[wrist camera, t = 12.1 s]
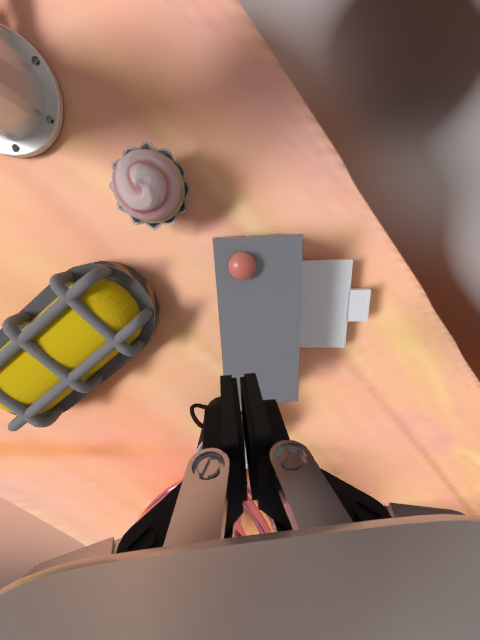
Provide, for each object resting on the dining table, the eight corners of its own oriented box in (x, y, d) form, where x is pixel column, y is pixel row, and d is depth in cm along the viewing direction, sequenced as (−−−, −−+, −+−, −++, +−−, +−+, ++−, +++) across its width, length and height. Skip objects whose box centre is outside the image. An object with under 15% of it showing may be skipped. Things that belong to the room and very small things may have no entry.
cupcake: (108, 178, 34) (66, 157, 24) (168, 140, 33) (148, 102, 23) (150, 242, 37) (127, 245, 27) (206, 209, 36) (202, 200, 26)
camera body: (214, 237, 37) (212, 239, 27) (283, 233, 38) (307, 234, 27) (225, 385, 45) (228, 430, 35) (282, 380, 46) (301, 422, 36)
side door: (285, 260, 38) (375, 257, 36) (284, 259, 39) (371, 256, 38) (284, 349, 42) (364, 349, 41) (284, 345, 44) (361, 345, 42)
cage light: (-81, 392, 33) (80, 240, 29) (-26, 362, 40) (109, 239, 36) (18, 456, 37) (171, 332, 33) (51, 418, 45) (179, 314, 41)
